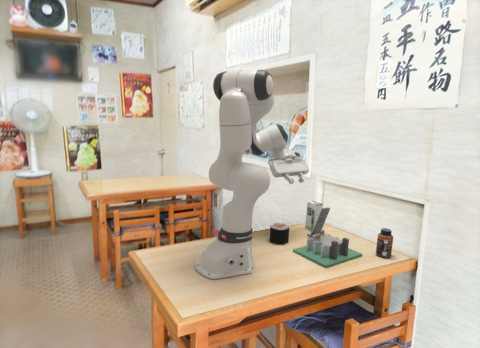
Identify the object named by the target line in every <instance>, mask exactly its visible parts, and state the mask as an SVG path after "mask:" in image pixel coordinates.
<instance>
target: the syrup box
mask: <svg viewBox="0 0 480 348" xmlns="http://www.w3.org/2000/svg"><path fill="white" fill-rule="evenodd" d="M322 208H324V202H321V201H319V200H315V199H311V200H307V202H306V216H305V226H304V227H305V229H306V230H308V231H309V232H310V231H311V233H312V232H313V230H314V227H315V225H316V222H317V220H318V217H319V215H320V212H321V210H322Z"/></svg>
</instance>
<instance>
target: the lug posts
mask: <svg viewBox="0 0 480 348" xmlns="http://www.w3.org/2000/svg"><path fill="white" fill-rule="evenodd" d="M341 240H342V250H341V255H343V256H348V248H349V245H350V244H349V242H350V239H349V238H347V237H343V238H342V239H341ZM337 251H338V242H337V241H332V243H331V255H330V258H332V259H334V260H335V259H337Z"/></svg>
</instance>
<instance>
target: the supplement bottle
mask: <svg viewBox="0 0 480 348" xmlns="http://www.w3.org/2000/svg"><path fill="white" fill-rule="evenodd" d="M393 243H394V235H392V230H391V229H390V228H386V227H385V228H384V227H383V228H381V229H380V233H378V234H377V240H376V248H375V255H377V256H378V257H380V258H384V259H390V258H391V256H392V251H393Z"/></svg>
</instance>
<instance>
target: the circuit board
mask: <svg viewBox="0 0 480 348" xmlns="http://www.w3.org/2000/svg"><path fill="white" fill-rule="evenodd" d="M306 246H307V245H305V246H304V245H303V246H300V247H297V248H294V249H292V252H293V253H295V254H297V255H299V256H301V257H302V258H305V259H307V260H308V261H311V262H312V263H315V264H316V265H318V266H321V267H322V268H325V269H327V268H331V267H333V266H336V265H339V264H343V263H346V262H349V261H352V260H355V259H358V258H361V257H363V253H361V252H359V251H356V250H354V249H352V248H349V247H348V256H343V255H338V256H337V259H335V260H334V259H332V258H327V257H321V255H320V254H318V253H315V254H314V253H313V251H312V250H306Z"/></svg>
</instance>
